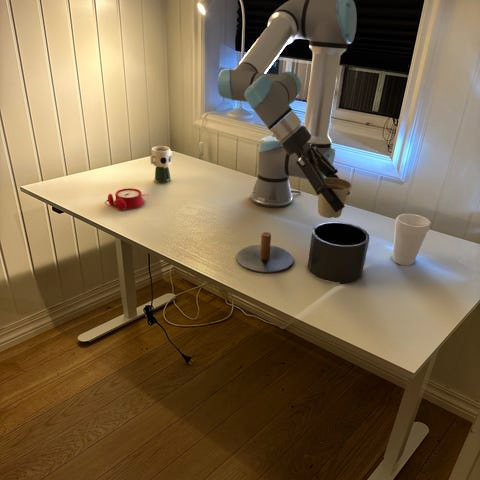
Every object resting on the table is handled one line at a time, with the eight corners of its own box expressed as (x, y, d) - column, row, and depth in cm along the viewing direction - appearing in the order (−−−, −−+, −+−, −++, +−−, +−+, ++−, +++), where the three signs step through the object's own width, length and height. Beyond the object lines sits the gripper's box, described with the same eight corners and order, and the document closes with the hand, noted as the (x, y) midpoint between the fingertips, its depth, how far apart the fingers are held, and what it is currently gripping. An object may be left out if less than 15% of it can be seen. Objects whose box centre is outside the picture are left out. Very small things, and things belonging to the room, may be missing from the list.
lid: (260, 243, 152) (261, 217, 147) (303, 260, 144) (307, 234, 139) (224, 261, 142) (224, 234, 137) (269, 281, 133) (271, 253, 128)
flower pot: (346, 223, 128) (351, 191, 123) (310, 218, 129) (314, 187, 124) (347, 209, 135) (352, 179, 130) (313, 205, 137) (317, 175, 132)
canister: (325, 252, 149) (331, 217, 142) (371, 269, 141) (379, 233, 134) (296, 270, 139) (300, 233, 132) (344, 290, 131) (351, 252, 124)
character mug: (158, 187, 189) (156, 153, 182) (146, 182, 193) (144, 149, 185) (178, 180, 196) (177, 147, 189) (167, 176, 200) (165, 143, 192)
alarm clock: (151, 193, 173) (116, 194, 163) (149, 210, 176) (114, 212, 165) (134, 185, 179) (99, 186, 168) (132, 202, 182) (97, 204, 171)
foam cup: (401, 270, 141) (412, 229, 134) (380, 256, 148) (389, 216, 140) (425, 263, 145) (437, 223, 137) (404, 250, 152) (414, 211, 144)
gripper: (290, 133, 135) (338, 196, 140) (269, 155, 117) (324, 226, 123) (311, 115, 130) (359, 181, 136) (292, 135, 113) (349, 209, 119)
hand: (343, 202), depth 129 cm, fingers closed on flower pot, 9 cm apart
